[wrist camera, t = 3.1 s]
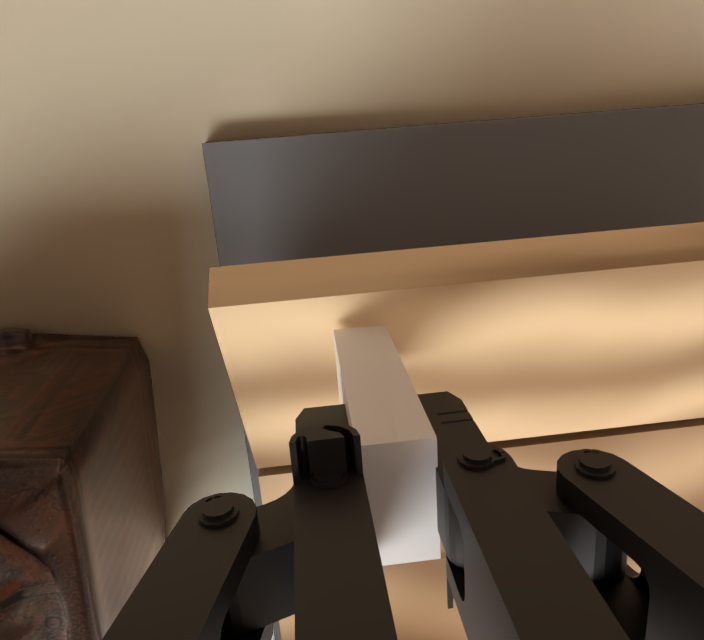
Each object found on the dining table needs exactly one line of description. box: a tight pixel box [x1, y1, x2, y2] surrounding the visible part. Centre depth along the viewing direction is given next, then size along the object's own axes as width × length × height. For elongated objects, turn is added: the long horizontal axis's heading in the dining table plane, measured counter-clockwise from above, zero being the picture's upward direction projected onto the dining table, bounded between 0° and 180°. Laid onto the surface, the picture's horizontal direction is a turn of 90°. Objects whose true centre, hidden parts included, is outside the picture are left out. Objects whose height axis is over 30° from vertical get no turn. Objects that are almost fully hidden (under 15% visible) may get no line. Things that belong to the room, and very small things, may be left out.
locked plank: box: [258, 417, 704, 640], centre depth 27 cm, size 10×20×2 cm, turn 94°
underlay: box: [202, 103, 704, 640], centre depth 27 cm, size 25×21×1 cm
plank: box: [208, 222, 704, 469], centre depth 21 cm, size 10×20×2 cm
